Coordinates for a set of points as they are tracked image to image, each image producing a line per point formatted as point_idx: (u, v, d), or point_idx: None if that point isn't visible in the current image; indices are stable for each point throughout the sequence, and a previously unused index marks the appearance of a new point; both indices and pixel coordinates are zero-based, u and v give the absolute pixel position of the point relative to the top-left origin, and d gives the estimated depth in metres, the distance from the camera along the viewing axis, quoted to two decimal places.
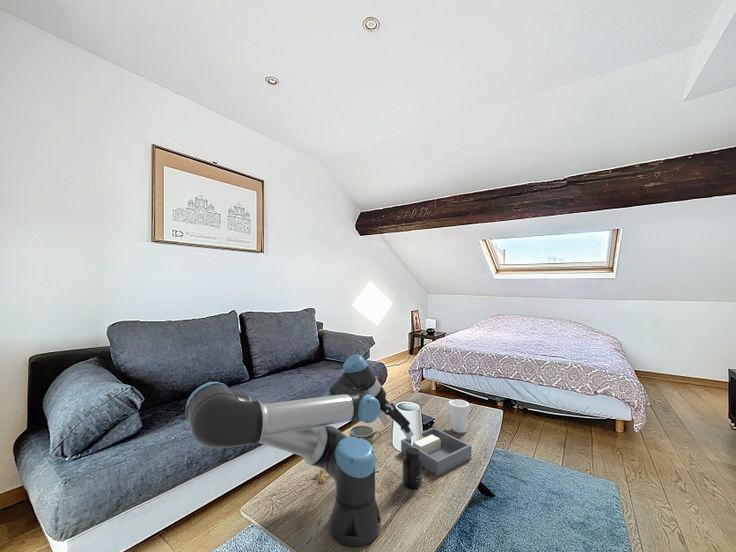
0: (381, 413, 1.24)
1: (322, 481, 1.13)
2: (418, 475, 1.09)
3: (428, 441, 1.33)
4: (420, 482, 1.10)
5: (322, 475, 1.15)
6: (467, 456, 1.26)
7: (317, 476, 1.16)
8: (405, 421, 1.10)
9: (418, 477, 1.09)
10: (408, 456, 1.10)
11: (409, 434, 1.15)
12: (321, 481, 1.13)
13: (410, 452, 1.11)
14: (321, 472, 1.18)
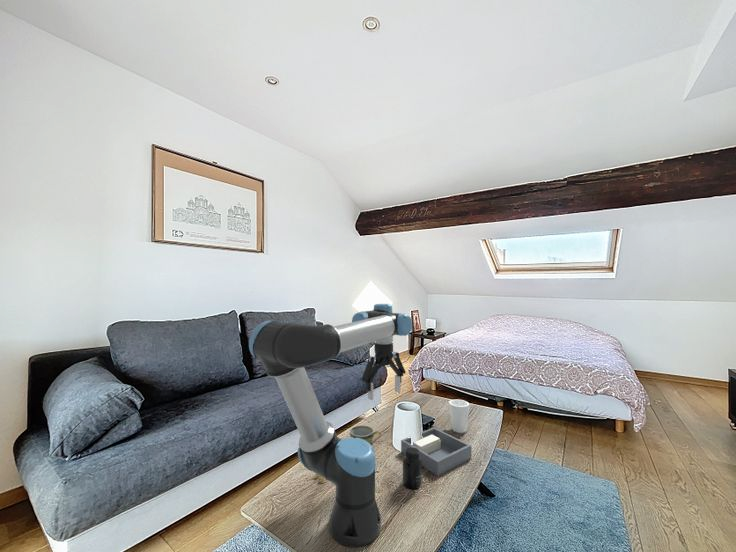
0: None
1: (322, 481, 1.13)
2: (418, 475, 1.09)
3: (428, 441, 1.33)
4: (420, 482, 1.10)
5: None
6: (467, 456, 1.26)
7: (317, 476, 1.16)
8: None
9: (418, 477, 1.09)
10: (408, 456, 1.10)
11: None
12: (321, 481, 1.13)
13: (410, 452, 1.11)
14: None
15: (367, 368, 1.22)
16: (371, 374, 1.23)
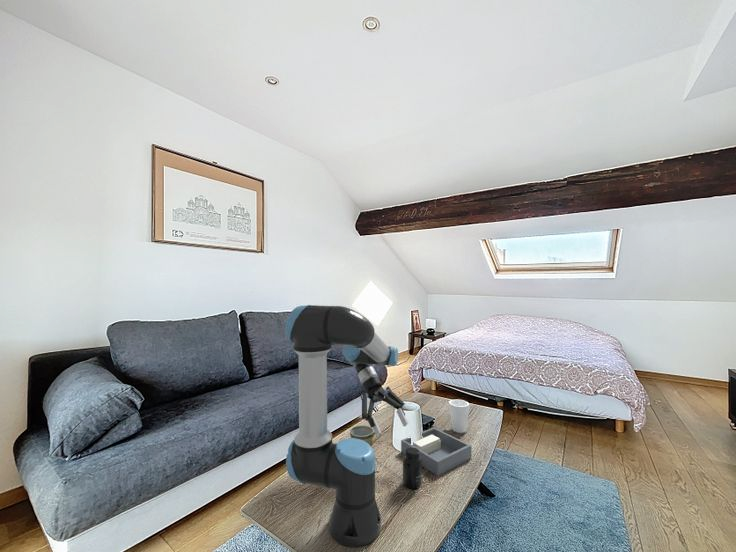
0: None
1: None
2: (418, 475, 1.09)
3: (428, 441, 1.33)
4: (420, 482, 1.10)
5: None
6: (467, 456, 1.26)
7: None
8: None
9: (418, 477, 1.09)
10: (408, 456, 1.10)
11: None
12: None
13: (410, 452, 1.11)
14: None
15: (363, 404, 1.23)
16: (369, 409, 1.22)
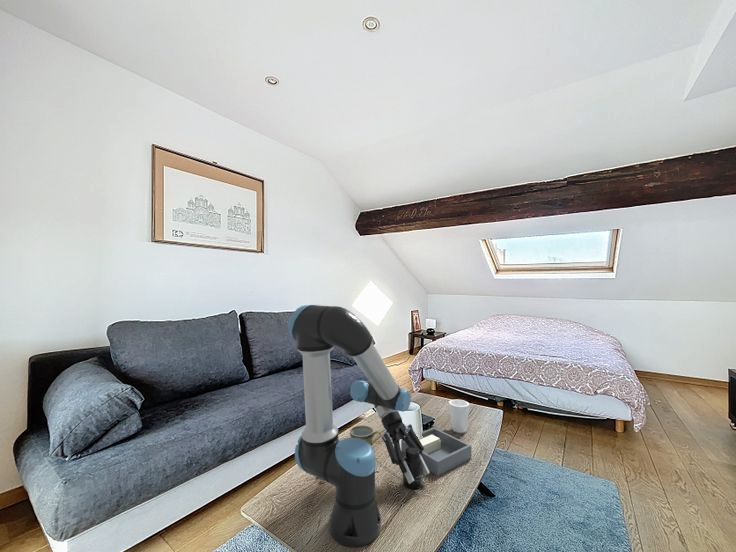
0: None
1: (323, 481, 1.13)
2: (418, 475, 1.09)
3: (428, 441, 1.33)
4: (420, 482, 1.10)
5: None
6: (467, 456, 1.26)
7: None
8: None
9: (418, 477, 1.09)
10: (408, 456, 1.10)
11: None
12: (322, 481, 1.13)
13: (410, 452, 1.11)
14: None
15: (388, 447, 1.13)
16: (397, 452, 1.12)
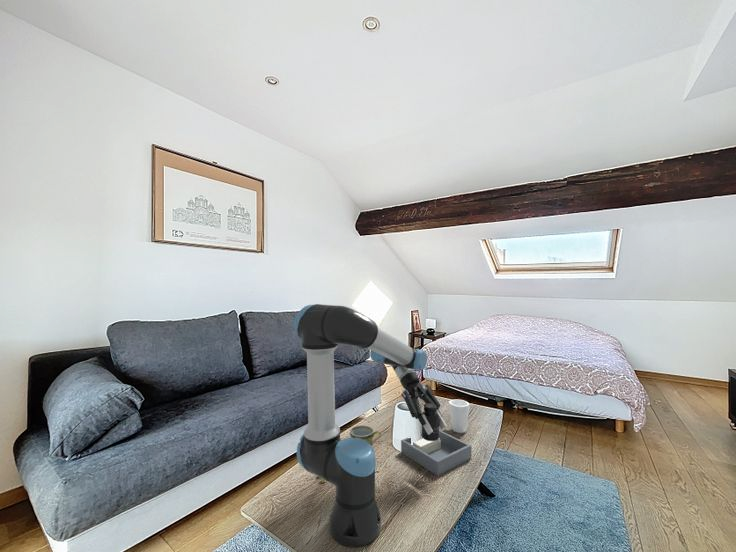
0: None
1: (323, 481, 1.13)
2: (436, 427, 1.17)
3: (428, 441, 1.33)
4: (438, 434, 1.18)
5: None
6: (467, 456, 1.26)
7: None
8: None
9: (436, 429, 1.18)
10: (426, 410, 1.19)
11: None
12: (322, 481, 1.13)
13: (428, 407, 1.19)
14: None
15: (408, 403, 1.21)
16: (416, 407, 1.21)
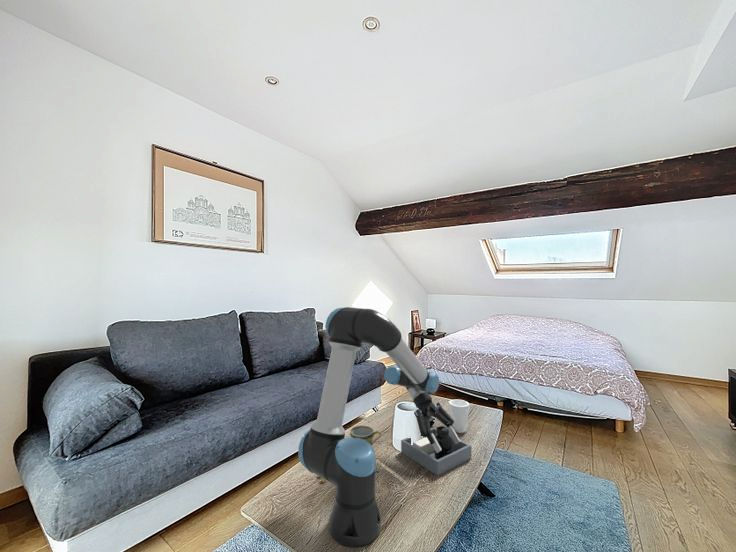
0: None
1: (324, 481, 1.13)
2: (448, 450, 1.23)
3: (428, 441, 1.33)
4: None
5: None
6: (467, 456, 1.26)
7: None
8: None
9: (449, 452, 1.24)
10: (439, 433, 1.25)
11: None
12: (323, 480, 1.13)
13: (441, 430, 1.25)
14: None
15: (419, 421, 1.27)
16: (426, 426, 1.26)
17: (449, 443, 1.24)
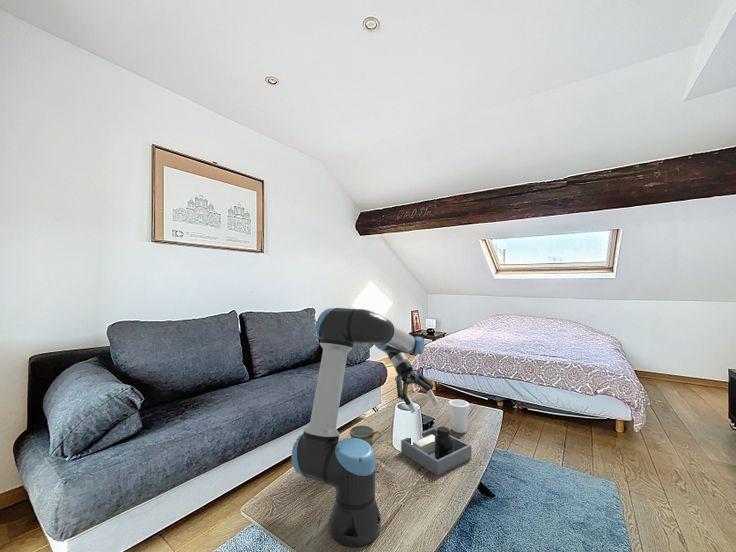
0: None
1: None
2: (449, 450, 1.23)
3: (428, 441, 1.33)
4: None
5: None
6: (467, 456, 1.26)
7: None
8: None
9: (449, 452, 1.23)
10: (440, 434, 1.25)
11: None
12: None
13: (441, 430, 1.25)
14: None
15: (398, 385, 1.37)
16: (404, 389, 1.36)
17: (449, 444, 1.24)
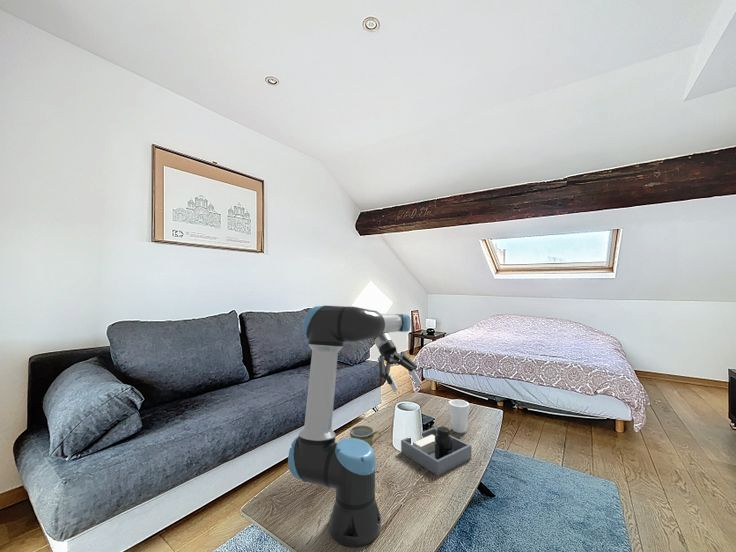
0: None
1: None
2: (449, 450, 1.23)
3: (428, 441, 1.33)
4: None
5: None
6: (467, 456, 1.26)
7: None
8: None
9: (449, 452, 1.23)
10: (440, 434, 1.25)
11: None
12: None
13: (441, 430, 1.25)
14: None
15: (380, 365, 1.35)
16: (386, 369, 1.35)
17: (449, 444, 1.24)
